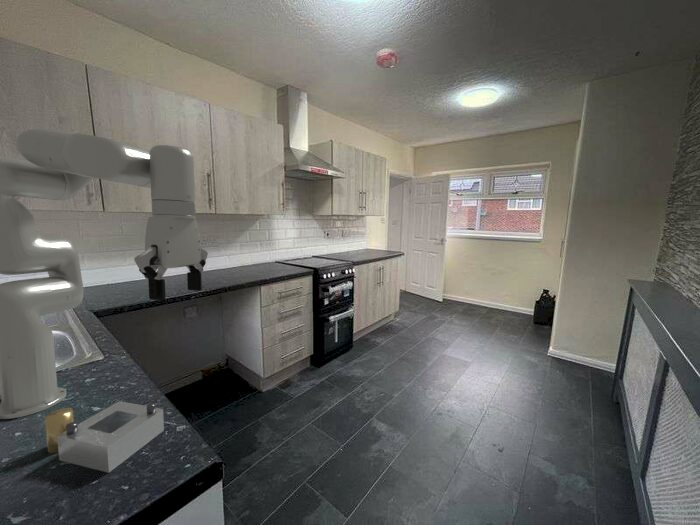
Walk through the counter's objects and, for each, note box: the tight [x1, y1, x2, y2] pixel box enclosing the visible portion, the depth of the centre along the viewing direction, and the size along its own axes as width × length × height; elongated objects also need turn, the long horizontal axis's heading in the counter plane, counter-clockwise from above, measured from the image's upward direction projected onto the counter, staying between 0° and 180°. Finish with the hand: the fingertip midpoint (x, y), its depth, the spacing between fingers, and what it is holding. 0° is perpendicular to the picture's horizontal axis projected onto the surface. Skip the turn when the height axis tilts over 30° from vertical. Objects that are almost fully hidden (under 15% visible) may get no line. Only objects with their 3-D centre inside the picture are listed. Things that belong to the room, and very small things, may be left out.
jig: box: [57, 400, 165, 474], centre depth 60 cm, size 12×12×7 cm
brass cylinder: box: [44, 407, 75, 454], centre depth 60 cm, size 4×4×7 cm
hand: (177, 294), depth 61 cm, fingers open, 9 cm apart
